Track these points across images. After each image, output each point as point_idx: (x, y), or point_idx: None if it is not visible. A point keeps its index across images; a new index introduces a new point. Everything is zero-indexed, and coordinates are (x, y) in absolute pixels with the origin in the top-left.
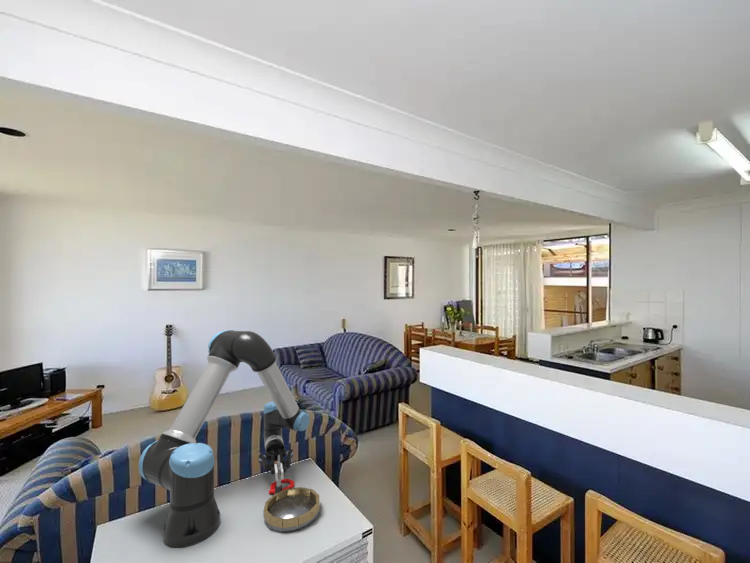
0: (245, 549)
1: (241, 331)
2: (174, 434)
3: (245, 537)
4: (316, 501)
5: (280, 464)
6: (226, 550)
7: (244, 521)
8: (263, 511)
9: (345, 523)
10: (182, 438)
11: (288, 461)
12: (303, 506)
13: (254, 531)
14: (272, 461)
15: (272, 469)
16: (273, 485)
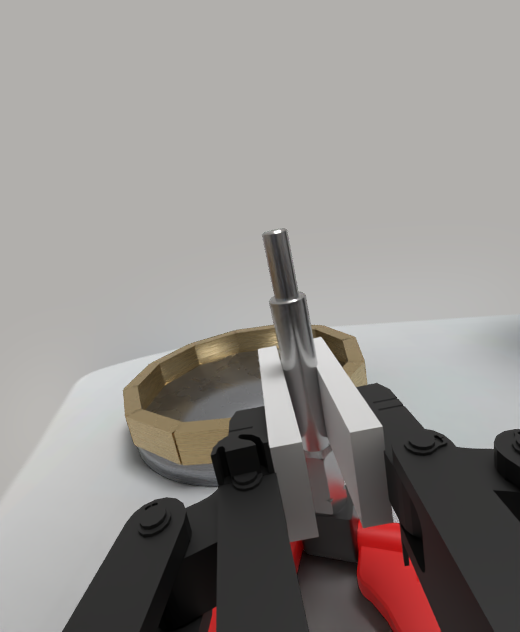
0: (378, 331)
1: None
2: None
3: (399, 347)
4: (154, 368)
5: (275, 325)
6: (432, 326)
7: (450, 382)
8: (355, 339)
9: (116, 380)
10: None
11: (156, 507)
12: (202, 395)
13: (379, 358)
14: (488, 535)
15: (382, 397)
16: None
